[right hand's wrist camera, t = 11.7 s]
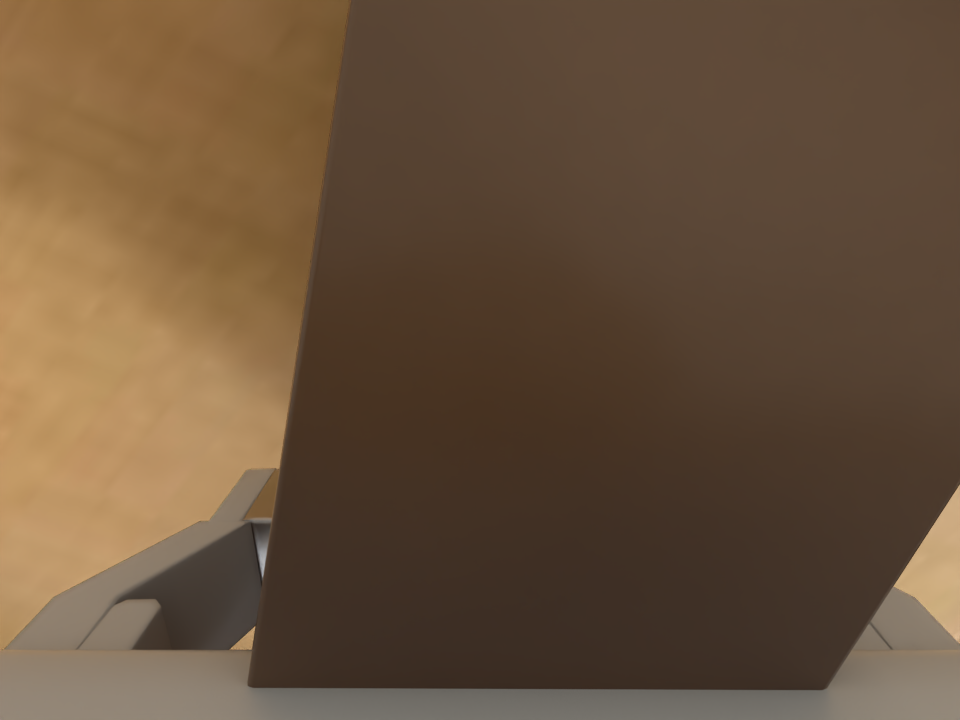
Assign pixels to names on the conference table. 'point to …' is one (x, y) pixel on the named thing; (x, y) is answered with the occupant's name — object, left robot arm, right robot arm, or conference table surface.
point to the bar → (619, 345)
